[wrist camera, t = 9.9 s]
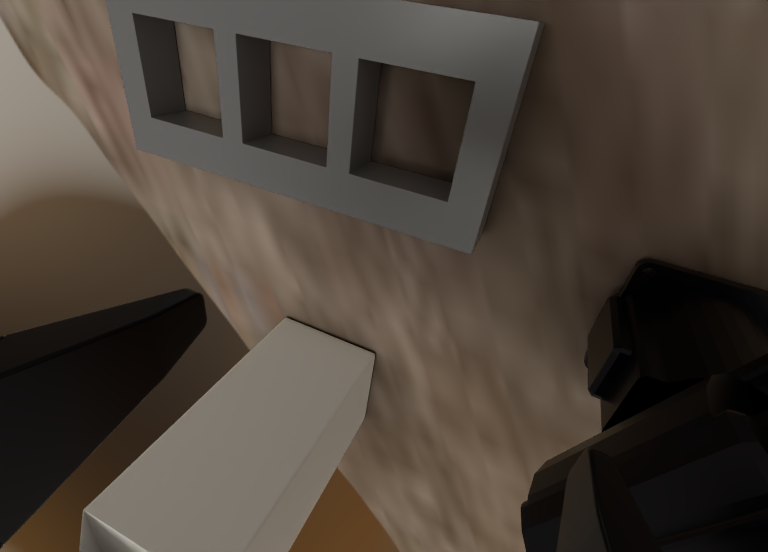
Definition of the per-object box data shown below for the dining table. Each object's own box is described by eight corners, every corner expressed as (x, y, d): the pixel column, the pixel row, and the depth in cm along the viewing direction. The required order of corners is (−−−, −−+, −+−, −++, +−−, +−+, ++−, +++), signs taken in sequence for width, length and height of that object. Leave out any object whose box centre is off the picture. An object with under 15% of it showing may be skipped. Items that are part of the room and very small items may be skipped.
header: (545, 22, 15) (539, 21, 13) (482, 233, 20) (471, 254, 18) (141, -40, 21) (95, -47, 19) (170, 140, 26) (137, 149, 24)
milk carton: (286, 381, 33) (39, 672, 18) (286, 314, 29) (-31, 615, 14) (365, 418, 31) (162, 774, 16) (376, 351, 27) (122, 741, 12)
